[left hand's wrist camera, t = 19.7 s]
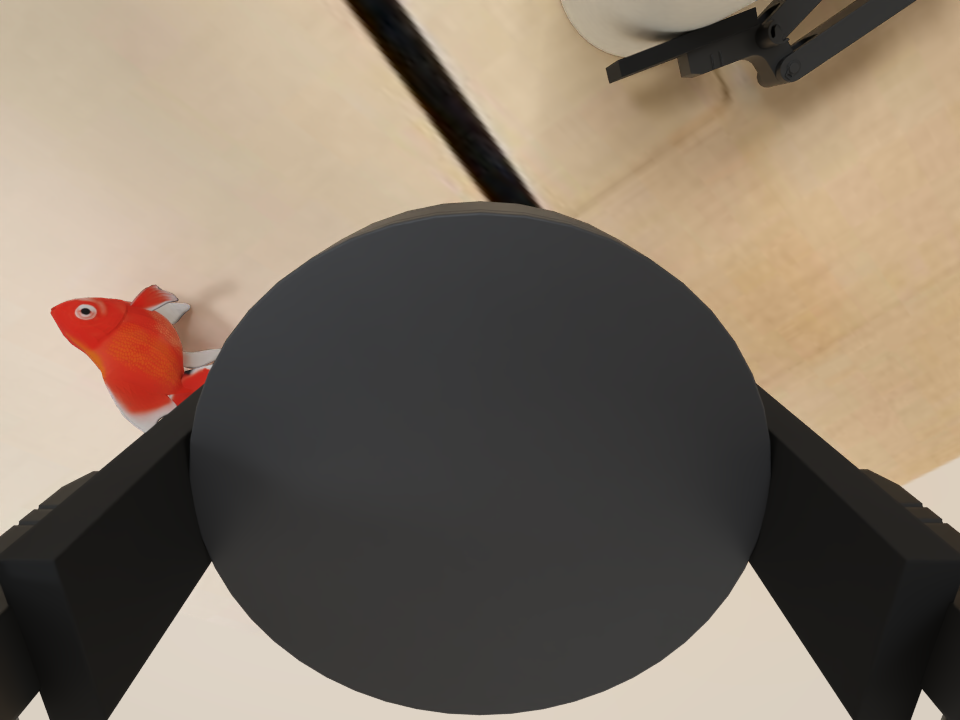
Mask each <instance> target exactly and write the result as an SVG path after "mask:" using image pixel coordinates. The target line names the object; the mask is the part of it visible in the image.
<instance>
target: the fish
mask: <svg viewBox="0 0 960 720" xmlns="http://www.w3.org/2000/svg"><path fill="white" fill-rule="evenodd" d="M175 301H178V298H177V297H176V296H175V295H174V294H172V293H170V292H167V291H164V290H162V289H161V288H159V287H158V286H157V285H151V286H150V287H148V288H145V289H144V290H143V291H142V292H141V293H140V294H139V295H138V296H137V297H136V298H135V299H134V300H133V302H128V301H123V300H118V299H107V298H78V299H72V300H69V301H66V302H63V303H61V304H59V305H57V306H55V307H53V308H52V309H51V315H52V317H53V318H54V320H55V322H56V323H57V325H58V327H59V328H60V330H61V332H62V333H63V335H64V336H65V337H66V338H67V339H68V341H69V342H70V343H71V344H72V345H74V346H75V347H77V348H78V349H80V350H81V351H83V352H84V353H85V354H87V355H88V356H89V358H90V359H91V360H92V361H93V362H94V363H95V364H96V366H97V367H98V368H99V369H100V370H101V372H102V376H103V379H104V382H105V384H106V386H107V389H108V391H109V393H110V395H111V397H112V398H113V400H114V402H115V404H116V406H117V407H118V409H119V410H120V412H121V413H122V415H123V416H124V417H125V418H126V419H127V420H128V421H129V422H131V423H132V424H133V425H134V426H135V427H137V428H138V429H140V430H141V431H143V432H144V433H145V432H147V431H148V430H149V429H150V428H151V427H153V426H154V425H155V424H156V423H157V422H158V421H159V419H161V418H163V417H165V416H166V415H167V414H168V413H169V412H171V411H172V410H173V409H174V408H175V407H177V406H178V405H179V404H180V403H181V402H183V401H184V400H185V399H186V398H187V397H189V396H190V395H191V394H192V393H193V392H195V391H196V390H197V389H198V388H199V387H201V386H202V385H203V384H204V383H205V381H206V378H207V375H208V373H209V371H210V369H211V367H212V365H213V364H212V365H208V366H205V365H207V364H209V363H211V362H213V361H215V360H216V358H217V356H218V354H219V352H220V350H221V349H211V350H204V351H199V352H184V351H183V349H182V344H181V341H180V338H179V336H178V334H177V332H176V330H175V328H174V327H173V325H172V324H175V323H176V322H178V321H179V319H180V318H181V317H182V316H183V315H184V314H185V313H186V312H187V311H188V310H189V309H190V306H189V304H187V303H170V302H175ZM202 366H204V367H202ZM183 367H186V368H192V370H188V371H185V372H184V368H183ZM193 368H196V369H193ZM167 395H169V396H170V398H169V397H168V396H167Z"/></svg>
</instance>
